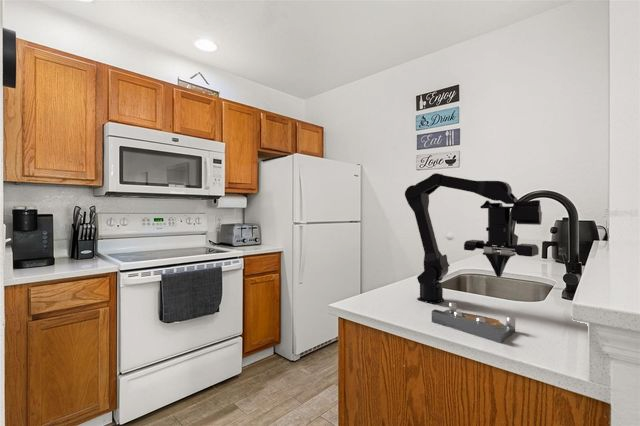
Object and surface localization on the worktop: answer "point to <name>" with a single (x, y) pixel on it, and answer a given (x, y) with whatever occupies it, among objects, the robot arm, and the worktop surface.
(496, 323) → the shard
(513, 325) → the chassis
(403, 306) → the worktop surface
